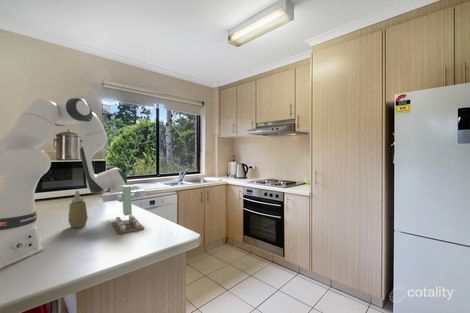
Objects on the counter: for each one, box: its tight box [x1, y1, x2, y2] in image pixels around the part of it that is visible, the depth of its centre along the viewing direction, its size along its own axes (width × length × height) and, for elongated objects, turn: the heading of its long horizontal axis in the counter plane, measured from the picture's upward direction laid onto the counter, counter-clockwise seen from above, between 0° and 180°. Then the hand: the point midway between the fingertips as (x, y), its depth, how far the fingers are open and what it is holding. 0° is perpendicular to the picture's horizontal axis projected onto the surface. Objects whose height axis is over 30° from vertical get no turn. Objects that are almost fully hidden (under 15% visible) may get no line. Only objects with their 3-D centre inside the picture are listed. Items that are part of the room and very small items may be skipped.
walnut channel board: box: [111, 214, 145, 236], centre depth 108 cm, size 18×11×4 cm, turn 36°
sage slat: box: [122, 184, 133, 217], centre depth 108 cm, size 5×3×14 cm, turn 36°
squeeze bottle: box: [67, 190, 89, 229], centre depth 111 cm, size 8×8×18 cm
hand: (127, 197), depth 108 cm, fingers closed on sage slat, 3 cm apart
